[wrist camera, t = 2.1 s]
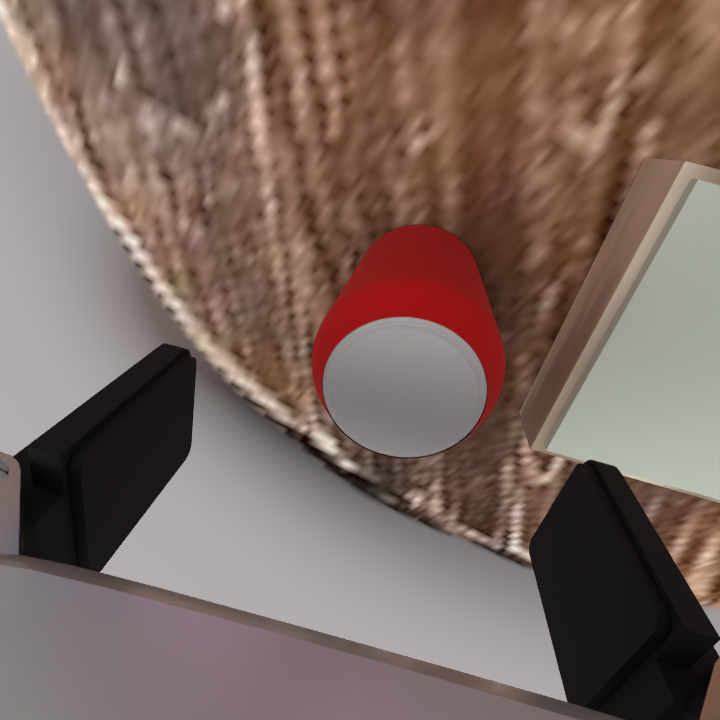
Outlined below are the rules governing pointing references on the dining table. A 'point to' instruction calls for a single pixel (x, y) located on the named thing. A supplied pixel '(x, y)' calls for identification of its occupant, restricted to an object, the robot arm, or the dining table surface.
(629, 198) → the podium
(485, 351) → the beverage can
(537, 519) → the dining table surface
